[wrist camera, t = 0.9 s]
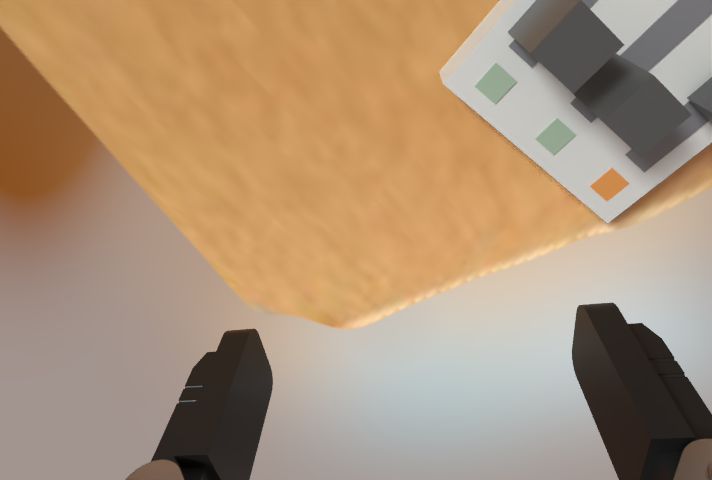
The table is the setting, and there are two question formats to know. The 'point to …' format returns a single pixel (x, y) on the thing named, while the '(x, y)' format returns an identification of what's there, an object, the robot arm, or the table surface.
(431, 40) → the table surface
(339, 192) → the table surface
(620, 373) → the robot arm
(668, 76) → the breaker panel
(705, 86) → the block
